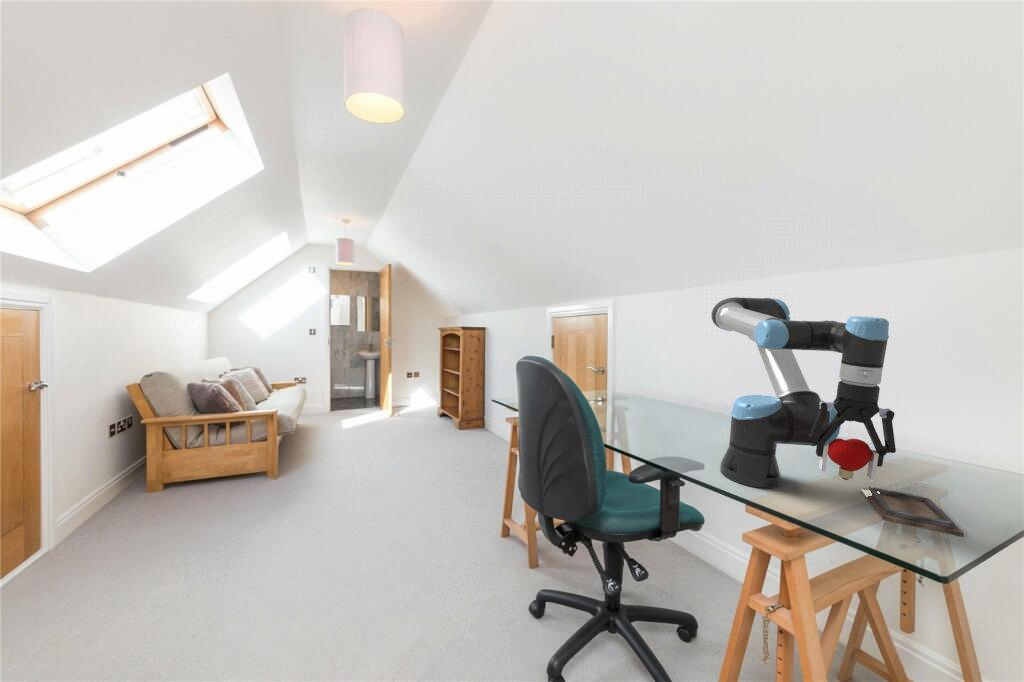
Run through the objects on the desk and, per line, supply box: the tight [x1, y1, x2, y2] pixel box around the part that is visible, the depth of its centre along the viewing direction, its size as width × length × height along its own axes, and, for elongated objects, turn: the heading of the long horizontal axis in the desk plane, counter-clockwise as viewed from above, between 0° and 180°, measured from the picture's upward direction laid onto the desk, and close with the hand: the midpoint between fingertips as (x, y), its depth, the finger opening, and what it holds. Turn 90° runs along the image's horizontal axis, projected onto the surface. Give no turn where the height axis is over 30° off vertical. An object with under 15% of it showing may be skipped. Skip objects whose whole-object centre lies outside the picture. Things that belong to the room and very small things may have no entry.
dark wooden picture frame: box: [866, 486, 965, 537], centre depth 101 cm, size 14×16×2 cm
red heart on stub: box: [827, 437, 872, 481], centre depth 99 cm, size 9×7×10 cm
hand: (845, 473), depth 99 cm, fingers closed on red heart on stub, 9 cm apart
